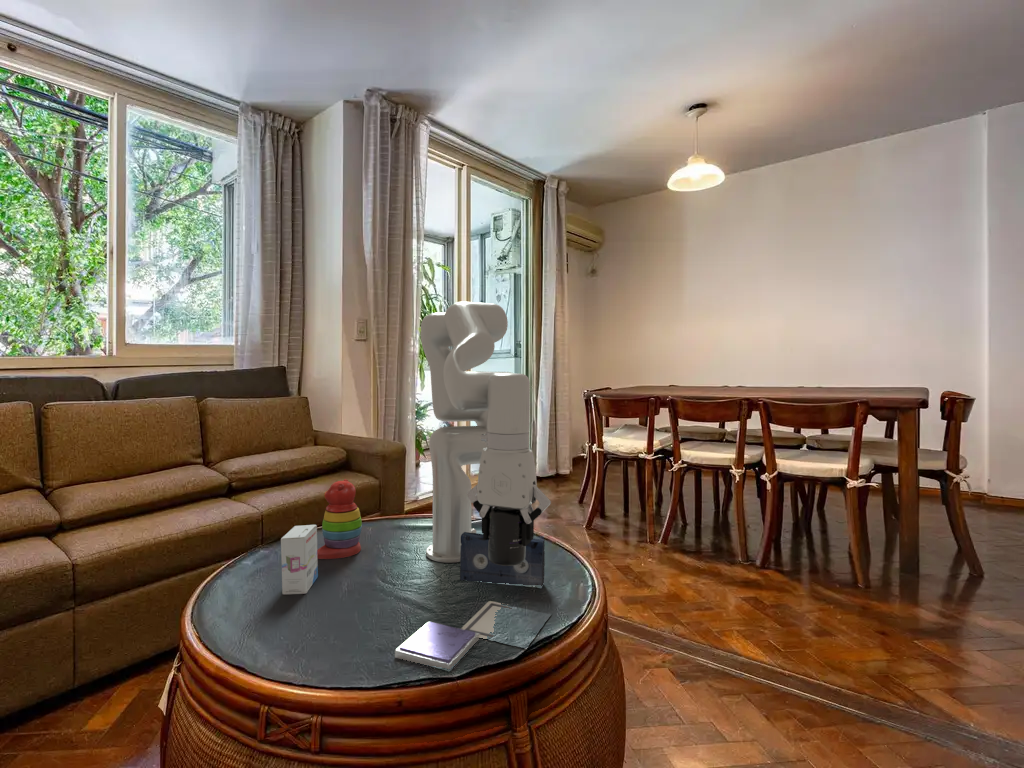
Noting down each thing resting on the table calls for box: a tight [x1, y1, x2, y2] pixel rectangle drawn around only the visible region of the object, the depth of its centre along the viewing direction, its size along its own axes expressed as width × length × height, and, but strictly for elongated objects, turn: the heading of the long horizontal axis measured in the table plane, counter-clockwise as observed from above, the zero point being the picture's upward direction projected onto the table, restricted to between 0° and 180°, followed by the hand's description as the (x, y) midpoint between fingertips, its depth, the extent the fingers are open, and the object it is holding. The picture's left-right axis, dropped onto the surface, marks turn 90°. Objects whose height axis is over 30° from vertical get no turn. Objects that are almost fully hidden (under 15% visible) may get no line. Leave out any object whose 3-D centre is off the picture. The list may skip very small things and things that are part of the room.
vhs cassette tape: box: [459, 532, 546, 586], centre depth 110 cm, size 18×3×10 cm, turn 76°
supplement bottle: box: [488, 507, 526, 566], centre depth 91 cm, size 7×7×12 cm
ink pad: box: [394, 621, 480, 669], centre depth 84 cm, size 10×10×2 cm
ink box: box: [280, 524, 319, 595], centre depth 107 cm, size 9×5×12 cm, turn 5°
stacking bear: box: [317, 478, 363, 560], centre depth 127 cm, size 11×10×18 cm
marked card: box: [460, 600, 512, 640], centre depth 92 cm, size 13×13×1 cm
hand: (507, 539), depth 91 cm, fingers closed on supplement bottle, 6 cm apart
